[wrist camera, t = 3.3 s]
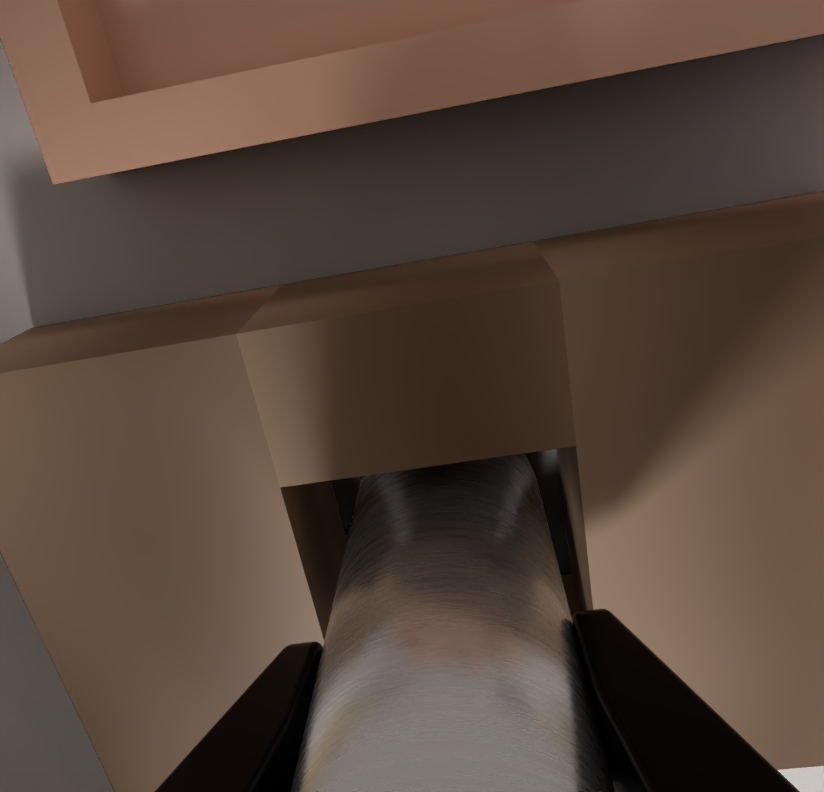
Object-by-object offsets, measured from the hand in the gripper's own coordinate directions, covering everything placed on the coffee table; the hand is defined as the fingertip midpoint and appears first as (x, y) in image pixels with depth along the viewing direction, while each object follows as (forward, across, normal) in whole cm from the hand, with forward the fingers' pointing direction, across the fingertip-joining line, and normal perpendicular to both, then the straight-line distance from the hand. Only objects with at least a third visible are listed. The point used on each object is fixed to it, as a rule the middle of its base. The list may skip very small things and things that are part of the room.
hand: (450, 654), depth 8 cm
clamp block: (+4, 0, 0) cm, 4 cm away
